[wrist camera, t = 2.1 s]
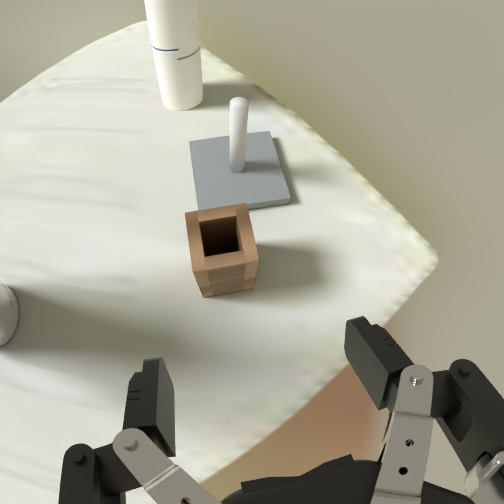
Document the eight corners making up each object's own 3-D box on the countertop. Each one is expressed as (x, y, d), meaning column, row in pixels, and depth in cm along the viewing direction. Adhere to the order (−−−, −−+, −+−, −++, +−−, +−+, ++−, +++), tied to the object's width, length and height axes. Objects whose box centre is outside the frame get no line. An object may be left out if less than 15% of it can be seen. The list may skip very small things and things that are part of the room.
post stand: (289, 203, 42) (309, 137, 30) (199, 217, 41) (187, 151, 28) (268, 137, 46) (278, 68, 34) (190, 148, 45) (180, 78, 32)
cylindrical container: (165, 87, 50) (146, -35, 27) (204, 84, 51) (198, -41, 27) (160, 112, 48) (134, -20, 24) (202, 109, 48) (193, -28, 25)
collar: (253, 288, 38) (259, 260, 28) (203, 297, 37) (193, 271, 28) (243, 242, 40) (246, 202, 31) (195, 250, 39) (184, 212, 30)
